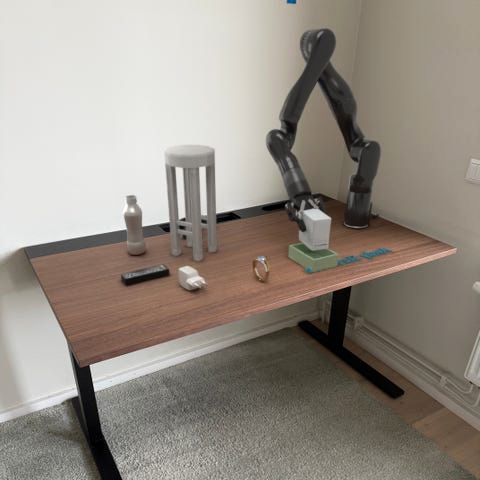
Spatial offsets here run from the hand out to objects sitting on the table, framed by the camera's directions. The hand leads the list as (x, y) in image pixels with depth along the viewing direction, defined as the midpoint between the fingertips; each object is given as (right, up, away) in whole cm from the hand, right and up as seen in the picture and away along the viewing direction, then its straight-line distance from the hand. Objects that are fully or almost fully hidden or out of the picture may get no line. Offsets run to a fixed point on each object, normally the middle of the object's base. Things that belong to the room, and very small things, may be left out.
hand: (314, 229), depth 156 cm
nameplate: (+13, -10, +6) cm, 17 cm away
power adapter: (-38, -21, -13) cm, 45 cm away
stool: (-40, -6, +12) cm, 42 cm away
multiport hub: (-54, -17, -6) cm, 57 cm away
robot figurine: (-43, +6, +31) cm, 53 cm away
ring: (-18, -18, -7) cm, 26 cm away
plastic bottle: (-60, -6, +11) cm, 62 cm away
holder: (0, -10, +5) cm, 11 cm away
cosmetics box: (0, -5, +2) cm, 5 cm away
